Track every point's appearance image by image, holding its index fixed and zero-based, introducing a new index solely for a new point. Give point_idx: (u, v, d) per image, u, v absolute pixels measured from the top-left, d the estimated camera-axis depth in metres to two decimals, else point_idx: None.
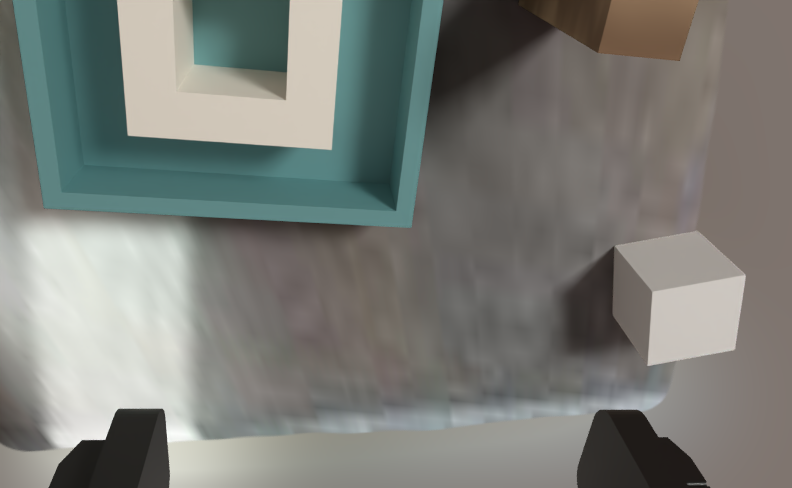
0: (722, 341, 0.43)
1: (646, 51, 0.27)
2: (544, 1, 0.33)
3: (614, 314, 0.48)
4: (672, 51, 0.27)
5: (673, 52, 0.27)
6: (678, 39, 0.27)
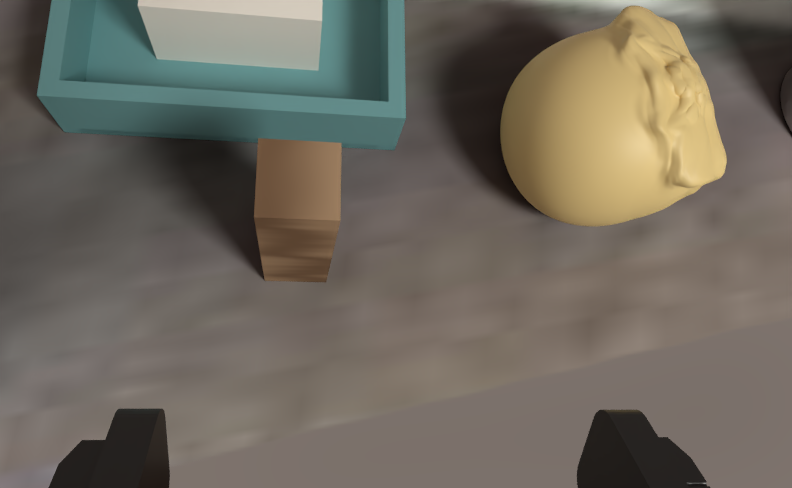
0: None
1: (261, 182, 0.28)
2: None
3: None
4: (263, 207, 0.28)
5: (261, 209, 0.28)
6: (274, 210, 0.28)
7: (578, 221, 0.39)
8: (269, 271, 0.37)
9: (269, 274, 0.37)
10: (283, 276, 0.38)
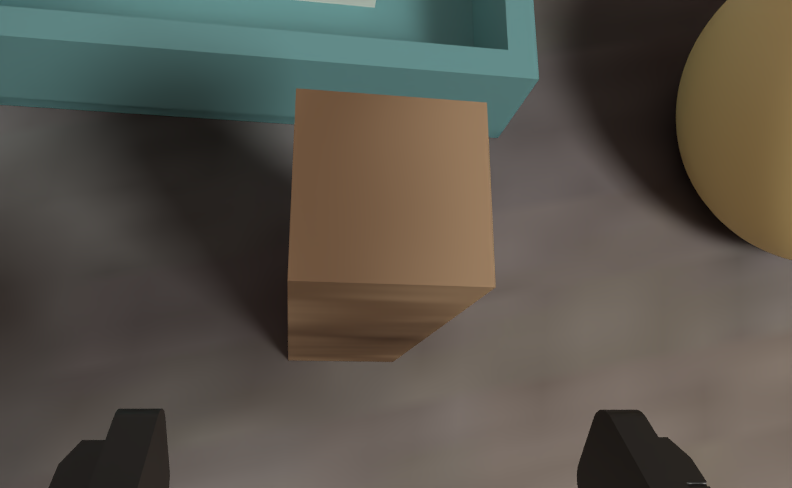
0: None
1: (305, 194, 0.11)
2: None
3: None
4: (309, 255, 0.11)
5: (306, 259, 0.11)
6: (337, 263, 0.11)
7: None
8: (299, 351, 0.20)
9: (298, 354, 0.21)
10: (322, 356, 0.21)
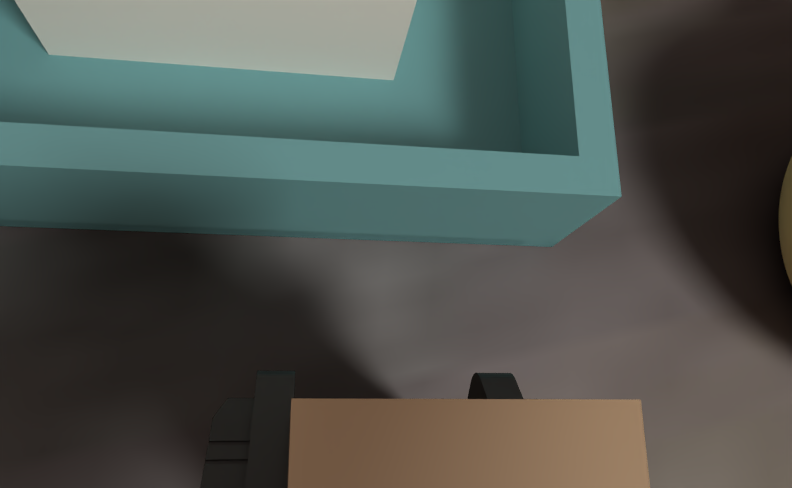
0: None
1: None
2: None
3: None
4: None
5: None
6: None
7: None
8: None
9: None
10: None
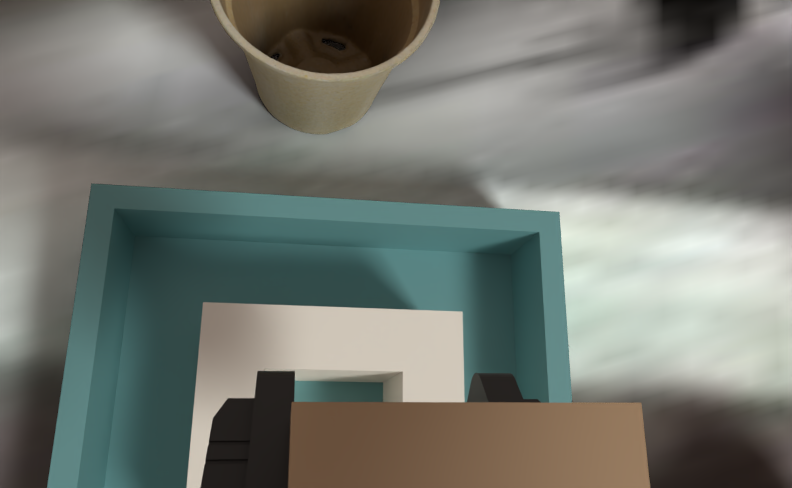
0: None
1: None
2: None
3: None
4: None
5: None
6: None
7: None
8: None
9: None
10: None
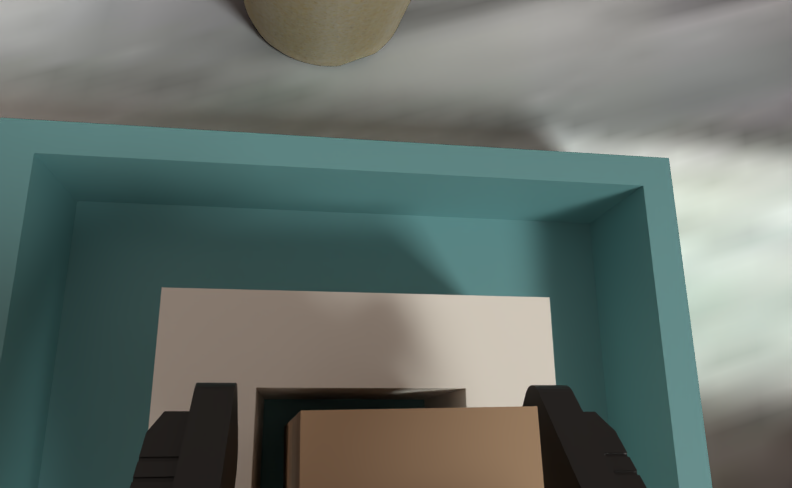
0: None
1: None
2: None
3: None
4: None
5: None
6: None
7: None
8: None
9: None
10: None
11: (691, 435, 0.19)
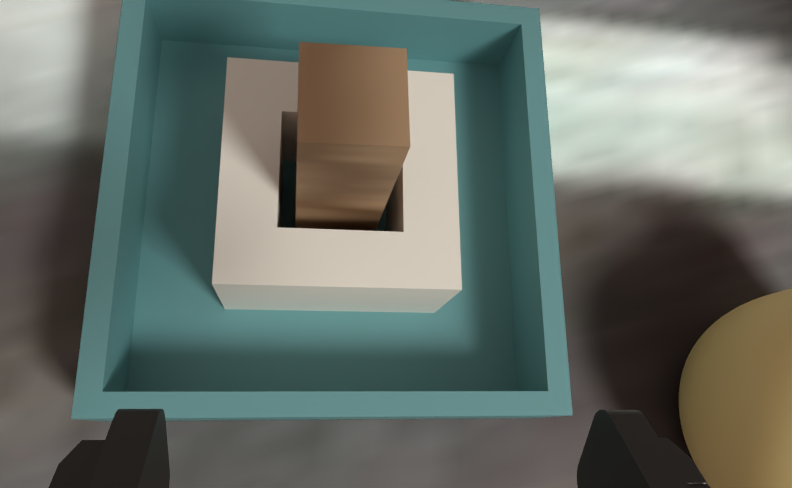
0: None
1: (305, 98, 0.21)
2: None
3: None
4: (309, 129, 0.21)
5: (307, 131, 0.21)
6: (324, 134, 0.21)
7: None
8: None
9: None
10: None
11: (543, 165, 0.31)
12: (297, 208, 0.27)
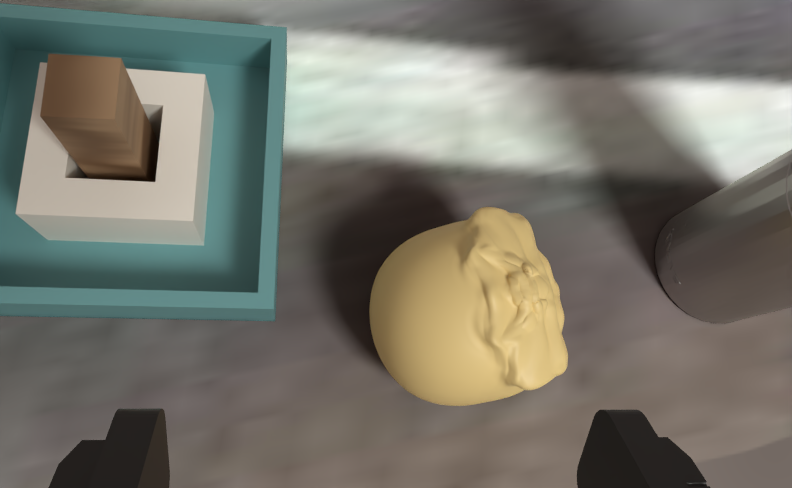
0: None
1: (48, 88, 0.34)
2: None
3: None
4: (48, 108, 0.34)
5: (47, 109, 0.34)
6: (58, 111, 0.34)
7: (437, 403, 0.41)
8: None
9: None
10: None
11: (274, 139, 0.44)
12: (79, 165, 0.40)
